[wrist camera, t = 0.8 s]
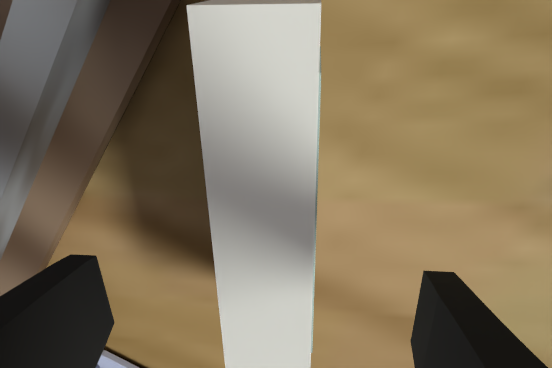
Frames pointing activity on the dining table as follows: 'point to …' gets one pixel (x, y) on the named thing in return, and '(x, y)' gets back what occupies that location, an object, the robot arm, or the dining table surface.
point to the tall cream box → (261, 170)
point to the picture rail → (62, 110)
